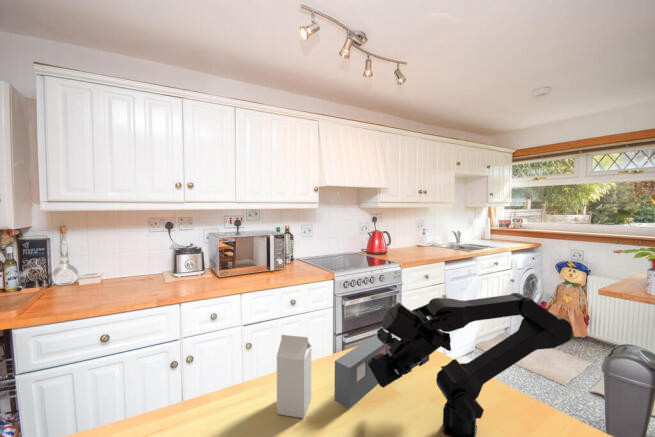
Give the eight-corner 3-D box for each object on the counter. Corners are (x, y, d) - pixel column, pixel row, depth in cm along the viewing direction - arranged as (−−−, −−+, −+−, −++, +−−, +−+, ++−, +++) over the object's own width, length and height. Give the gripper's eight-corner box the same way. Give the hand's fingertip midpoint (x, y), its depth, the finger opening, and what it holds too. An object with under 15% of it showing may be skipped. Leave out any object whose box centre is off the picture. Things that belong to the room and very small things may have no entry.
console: (391, 372, 92) (392, 338, 91) (349, 409, 75) (349, 367, 74) (377, 366, 95) (378, 333, 94) (334, 400, 78) (334, 360, 78)
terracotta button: (385, 359, 89) (385, 346, 89) (378, 364, 86) (378, 351, 86) (380, 357, 90) (380, 344, 90) (373, 362, 87) (373, 349, 87)
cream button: (365, 375, 80) (365, 361, 80) (357, 382, 77) (357, 367, 77) (360, 372, 82) (360, 359, 81) (351, 379, 79) (351, 365, 78)
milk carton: (303, 419, 72) (304, 343, 71) (276, 414, 73) (276, 340, 72) (311, 399, 79) (311, 331, 78) (286, 396, 80) (286, 328, 79)
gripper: (418, 308, 79) (385, 338, 87) (373, 323, 66) (340, 357, 74) (446, 347, 73) (408, 375, 80) (403, 371, 60) (364, 402, 68)
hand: (381, 376), depth 76 cm, fingers closed
